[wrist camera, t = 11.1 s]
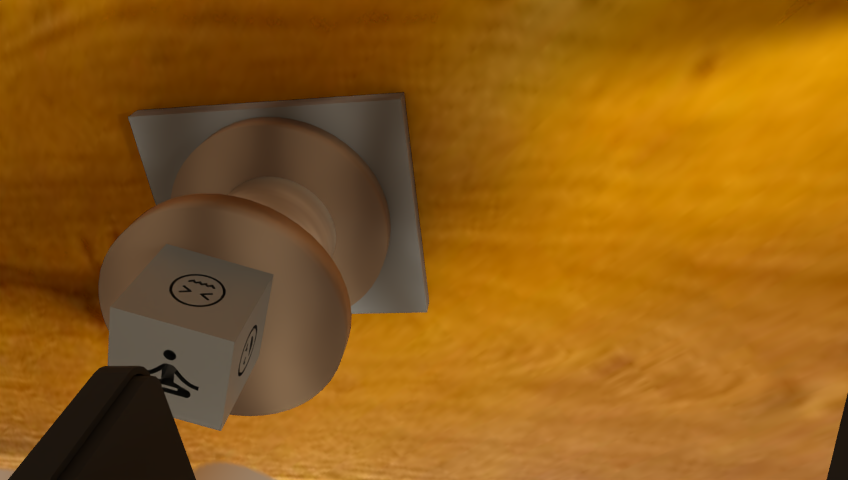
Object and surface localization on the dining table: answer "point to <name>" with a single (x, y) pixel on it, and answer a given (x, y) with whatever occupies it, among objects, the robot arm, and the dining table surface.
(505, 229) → the dining table surface
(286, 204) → the bobbin
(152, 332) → the dice cube
